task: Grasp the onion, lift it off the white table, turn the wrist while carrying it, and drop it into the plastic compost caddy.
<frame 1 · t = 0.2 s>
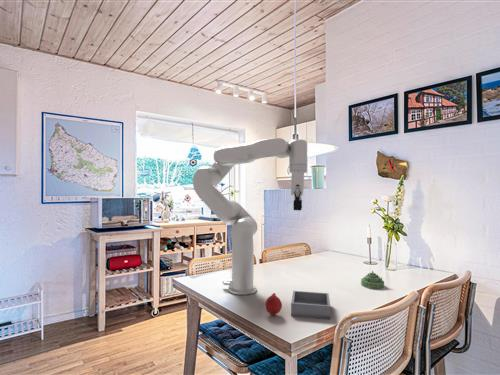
hand: (297, 209, 132), 36 cm above the table, tool pointing down, fingers open, 9 cm apart
decorative artifact: (372, 286, 146), on the table
caddy: (310, 310, 116), on the table
onion: (273, 316, 111), on the table
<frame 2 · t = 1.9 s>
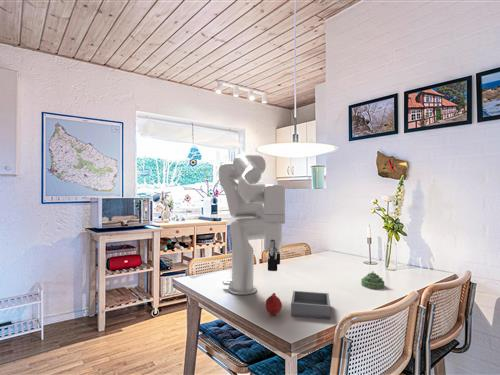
hand: (274, 267, 111), 17 cm above the table, tool pointing down, fingers open, 9 cm apart
nothing on the table moved.
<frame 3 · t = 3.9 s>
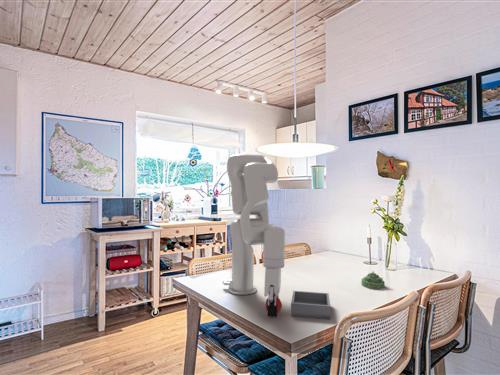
hand: (273, 312, 111), 1 cm above the table, tool pointing down, fingers closed on onion, 5 cm apart
onion: (273, 316, 111), on the table, touching gripper
everything else where it was.
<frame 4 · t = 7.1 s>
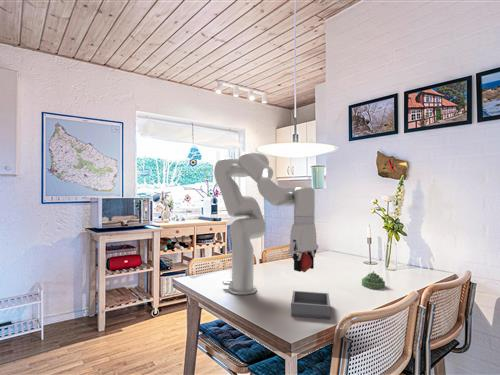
hand: (303, 268, 115), 16 cm above the table, tool pointing down, fingers closed on onion, 5 cm apart
onion: (303, 272, 115), point 14 cm above the table, touching gripper
everything else where it was.
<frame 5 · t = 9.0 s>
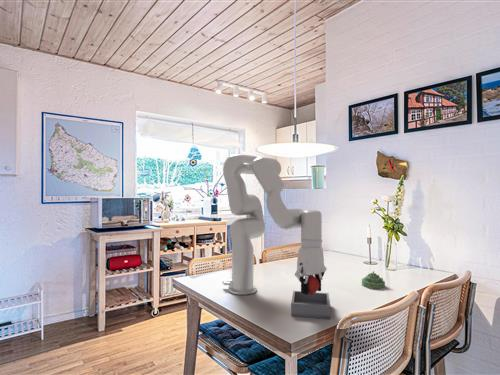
hand: (311, 291, 116), 7 cm above the table, tool pointing down, fingers closed on onion, 5 cm apart
onion: (311, 295, 116), point 6 cm above the table, touching gripper
everything else where it was.
when the fingers open (4 cm above the table, at t = 10.4 s): onion drops 2 cm, resting on caddy.
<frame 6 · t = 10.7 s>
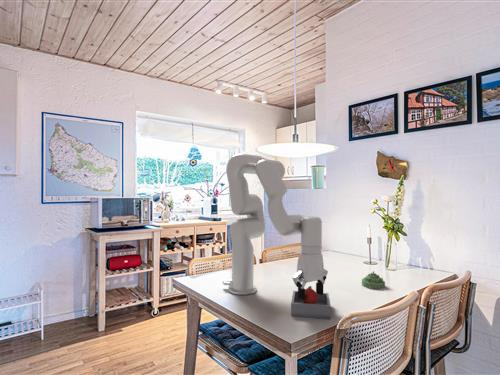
hand: (310, 296, 116), 5 cm above the table, tool pointing down, fingers open, 9 cm apart
onion: (309, 307, 116), point 1 cm above the table, touching caddy
everything else where it was.
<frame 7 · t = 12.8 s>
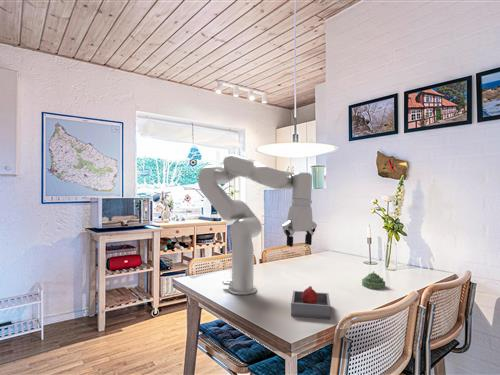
hand: (299, 245, 126), 22 cm above the table, tool pointing down, fingers open, 9 cm apart
nothing on the table moved.
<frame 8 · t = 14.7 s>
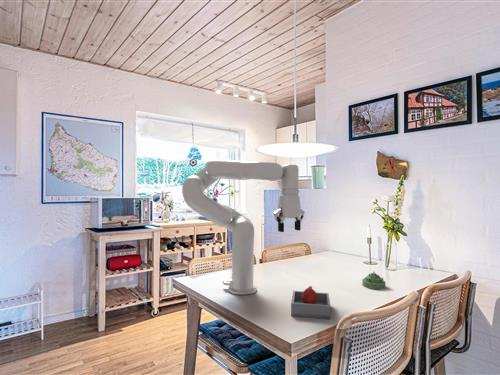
hand: (289, 230, 139), 26 cm above the table, tool pointing down, fingers open, 9 cm apart
nothing on the table moved.
at the end: onion inside the target area on the caddy (0.4 cm from its centre), point 0.8 cm above the caddy's base; the gripper is holding nothing; onion touching caddy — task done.
